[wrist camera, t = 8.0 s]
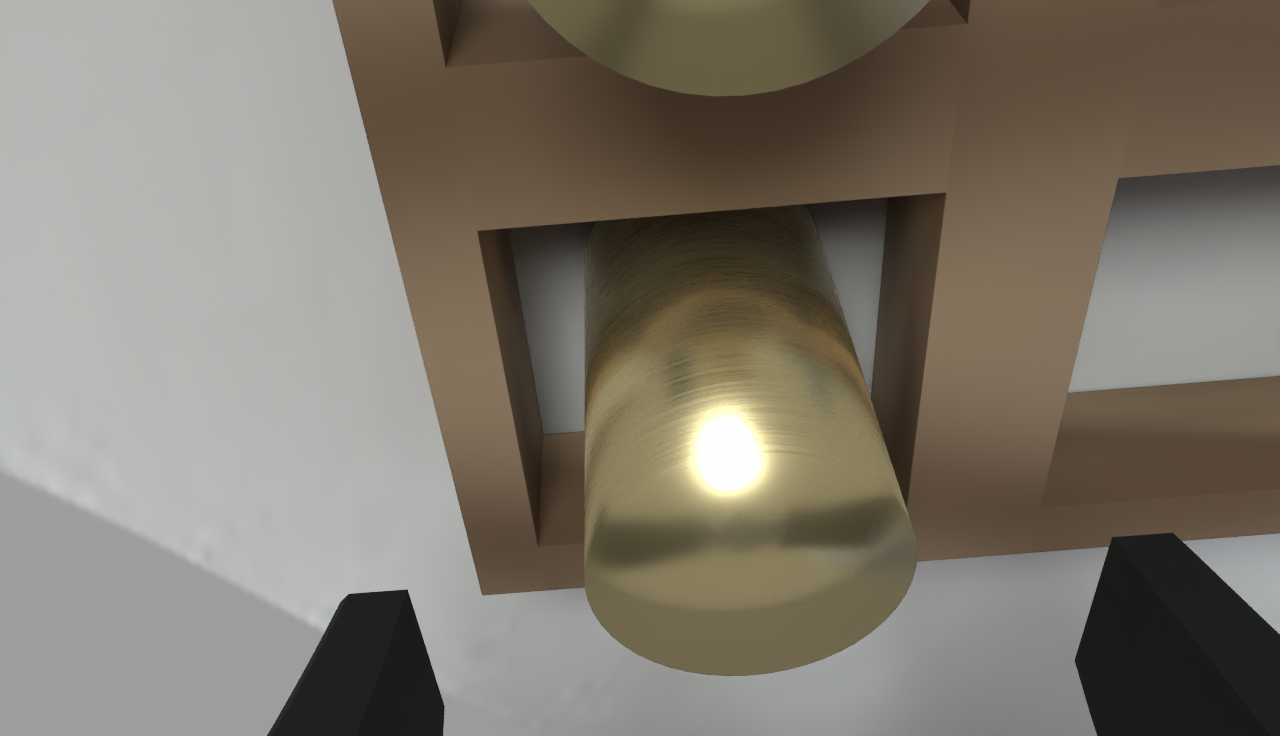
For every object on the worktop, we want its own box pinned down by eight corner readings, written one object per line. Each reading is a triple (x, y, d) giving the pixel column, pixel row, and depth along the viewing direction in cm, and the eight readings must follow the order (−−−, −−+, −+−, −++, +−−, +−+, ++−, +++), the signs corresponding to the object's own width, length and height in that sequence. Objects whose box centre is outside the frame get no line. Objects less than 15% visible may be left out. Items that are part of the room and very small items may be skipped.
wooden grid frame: (1358, 413, 18) (1451, 520, 16) (493, 481, 18) (482, 595, 16) (1989, -930, 9) (2384, -1056, 7) (220, -763, 9) (119, -844, 7)
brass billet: (796, 361, 17) (875, 679, 12) (578, 351, 17) (575, 672, 12) (840, 167, 15) (956, 462, 10) (592, 151, 15) (595, 447, 10)
